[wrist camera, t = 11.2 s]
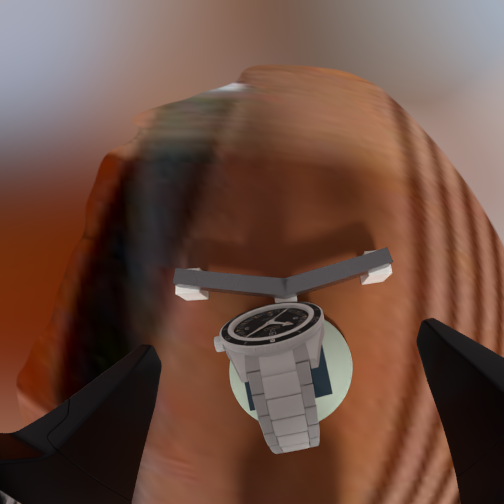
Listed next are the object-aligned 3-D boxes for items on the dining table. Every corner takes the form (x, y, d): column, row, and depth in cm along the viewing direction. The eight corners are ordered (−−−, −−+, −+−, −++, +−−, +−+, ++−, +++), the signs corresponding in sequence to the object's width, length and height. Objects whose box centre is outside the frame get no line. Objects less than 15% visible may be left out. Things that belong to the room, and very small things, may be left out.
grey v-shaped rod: (378, 259, 22) (387, 248, 20) (385, 295, 21) (395, 287, 18) (187, 278, 24) (176, 269, 21) (186, 314, 23) (175, 308, 20)
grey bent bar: (384, 252, 20) (389, 246, 18) (391, 286, 19) (397, 281, 17) (179, 273, 21) (173, 268, 20) (178, 306, 20) (172, 303, 19)
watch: (309, 312, 21) (328, 268, 11) (330, 408, 18) (368, 456, 7) (239, 327, 21) (192, 298, 11) (259, 423, 18) (227, 482, 8)
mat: (340, 430, 17) (341, 432, 17) (222, 416, 19) (220, 417, 18) (356, 317, 20) (358, 316, 20) (241, 305, 22) (239, 304, 22)
